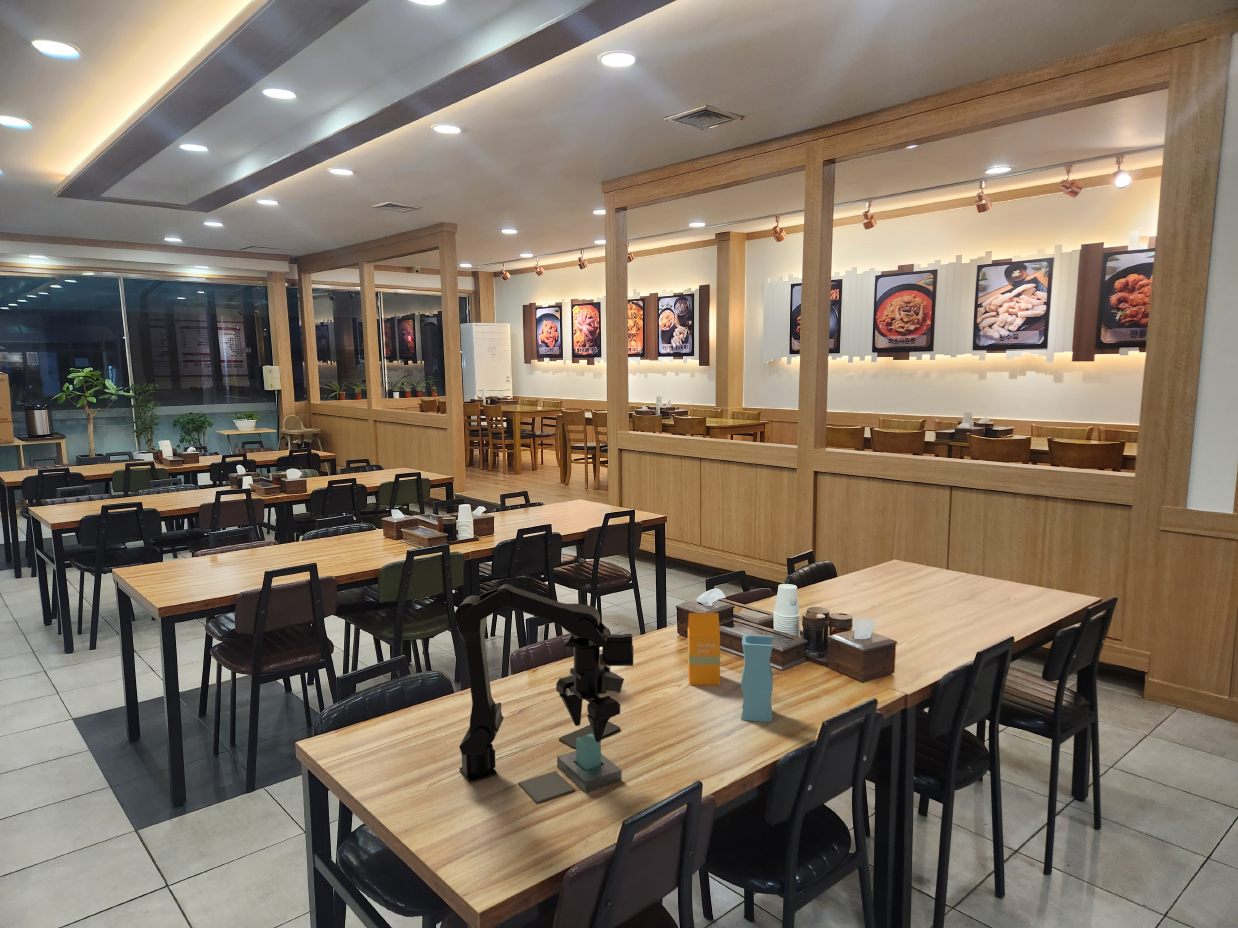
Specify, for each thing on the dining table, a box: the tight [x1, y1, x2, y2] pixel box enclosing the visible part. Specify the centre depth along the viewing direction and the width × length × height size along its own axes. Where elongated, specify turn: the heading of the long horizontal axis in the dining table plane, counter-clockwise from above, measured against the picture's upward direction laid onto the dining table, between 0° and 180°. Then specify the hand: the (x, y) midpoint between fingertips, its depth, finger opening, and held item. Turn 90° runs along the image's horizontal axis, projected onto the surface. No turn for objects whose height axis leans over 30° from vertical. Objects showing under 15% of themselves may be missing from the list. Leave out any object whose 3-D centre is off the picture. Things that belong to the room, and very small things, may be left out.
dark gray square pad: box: [517, 770, 576, 804], centre depth 162 cm, size 9×9×1 cm
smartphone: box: [558, 721, 621, 750], centre depth 186 cm, size 7×1×15 cm
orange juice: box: [687, 612, 721, 686], centre depth 218 cm, size 8×9×20 cm
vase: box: [740, 634, 774, 723], centre depth 195 cm, size 8×8×20 cm
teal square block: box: [575, 734, 602, 771], centre depth 167 cm, size 4×4×8 cm
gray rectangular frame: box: [556, 750, 623, 794], centre depth 167 cm, size 9×13×2 cm
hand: (587, 733), depth 166 cm, fingers open, 9 cm apart
